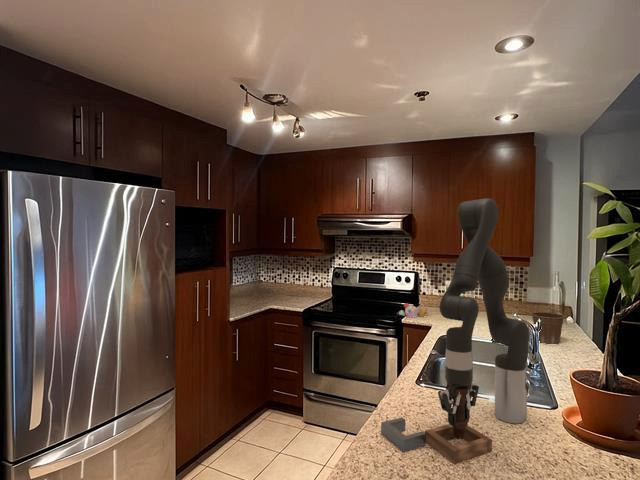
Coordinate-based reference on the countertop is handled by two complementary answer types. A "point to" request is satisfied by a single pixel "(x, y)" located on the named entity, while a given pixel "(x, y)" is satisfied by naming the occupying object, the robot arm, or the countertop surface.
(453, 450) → the square frame block
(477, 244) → the robot arm
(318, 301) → the countertop surface
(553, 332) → the plant pot
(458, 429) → the bolt
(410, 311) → the pastel sphere sculpture
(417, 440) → the block
